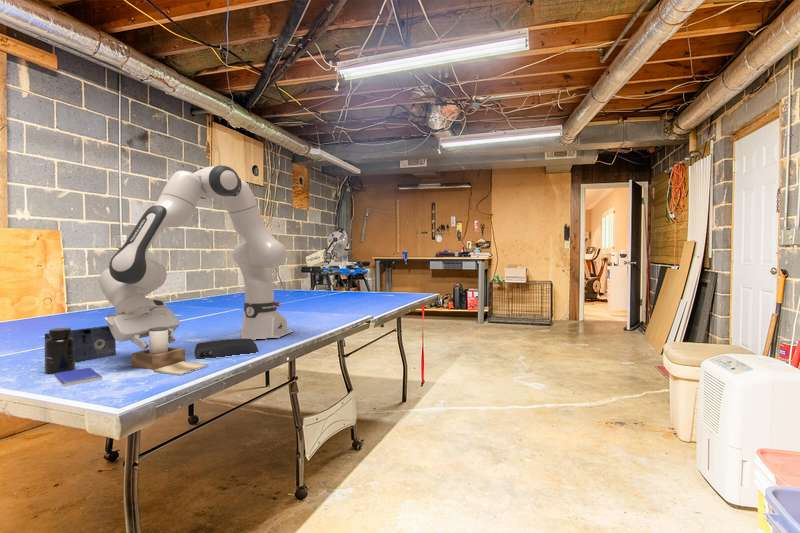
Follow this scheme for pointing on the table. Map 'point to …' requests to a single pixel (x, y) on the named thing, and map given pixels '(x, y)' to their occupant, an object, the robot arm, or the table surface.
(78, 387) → the table surface
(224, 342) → the external hard drive
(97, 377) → the blue book
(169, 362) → the block
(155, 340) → the beige cylinder
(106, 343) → the vhs cassette tape
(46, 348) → the supplement bottle
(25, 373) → the table surface
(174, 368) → the pad
